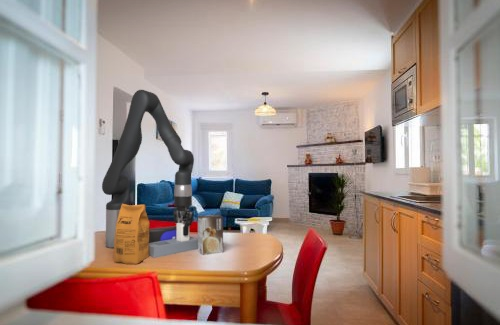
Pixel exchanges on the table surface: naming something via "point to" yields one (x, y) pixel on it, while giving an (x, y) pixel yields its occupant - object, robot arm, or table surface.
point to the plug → (181, 233)
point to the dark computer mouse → (162, 234)
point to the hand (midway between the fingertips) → (182, 234)
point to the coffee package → (131, 235)
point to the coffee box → (210, 234)
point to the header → (172, 247)
